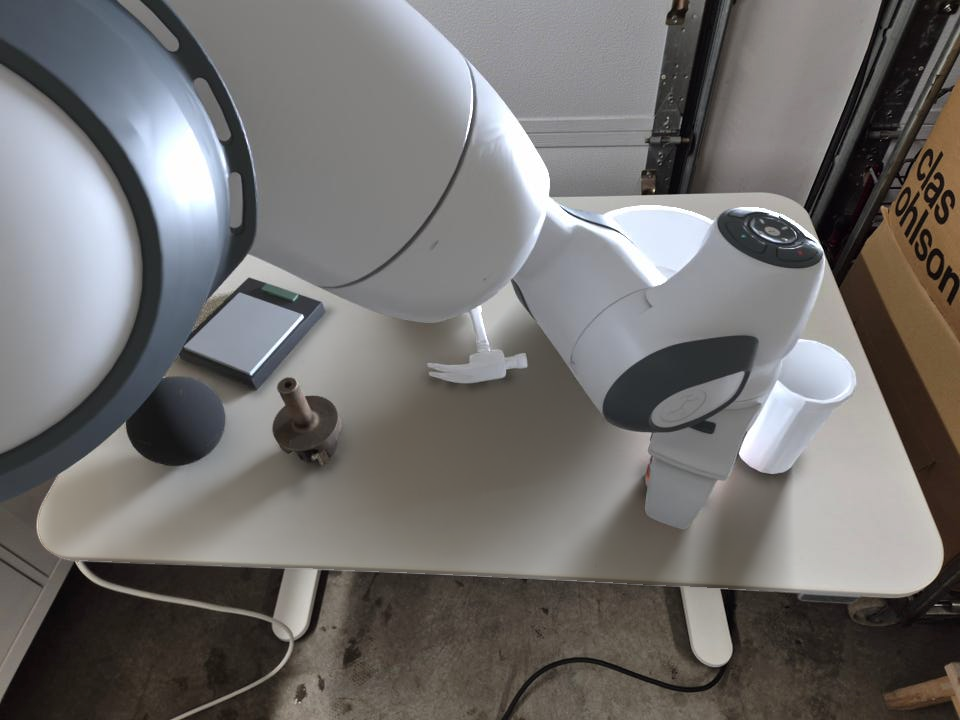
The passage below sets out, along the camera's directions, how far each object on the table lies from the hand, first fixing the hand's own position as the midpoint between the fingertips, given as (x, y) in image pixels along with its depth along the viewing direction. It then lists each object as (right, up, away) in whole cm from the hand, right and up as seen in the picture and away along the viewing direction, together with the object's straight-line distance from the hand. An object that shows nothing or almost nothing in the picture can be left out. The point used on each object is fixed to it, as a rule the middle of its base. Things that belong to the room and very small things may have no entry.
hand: (680, 463), depth 63 cm
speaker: (-54, 0, +10) cm, 55 cm away
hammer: (-23, +19, +23) cm, 38 cm away
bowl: (+2, +18, +21) cm, 27 cm away
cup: (+11, 0, +5) cm, 12 cm away
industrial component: (-40, 0, +8) cm, 40 cm away
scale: (-51, +14, +21) cm, 57 cm away
